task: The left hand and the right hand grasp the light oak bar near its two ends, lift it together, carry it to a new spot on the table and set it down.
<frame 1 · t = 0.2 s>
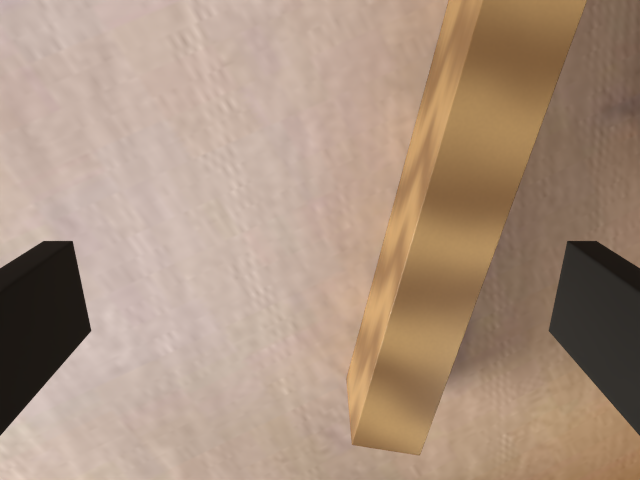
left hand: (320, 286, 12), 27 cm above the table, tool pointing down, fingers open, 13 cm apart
bar: (472, 57, 35), on the table
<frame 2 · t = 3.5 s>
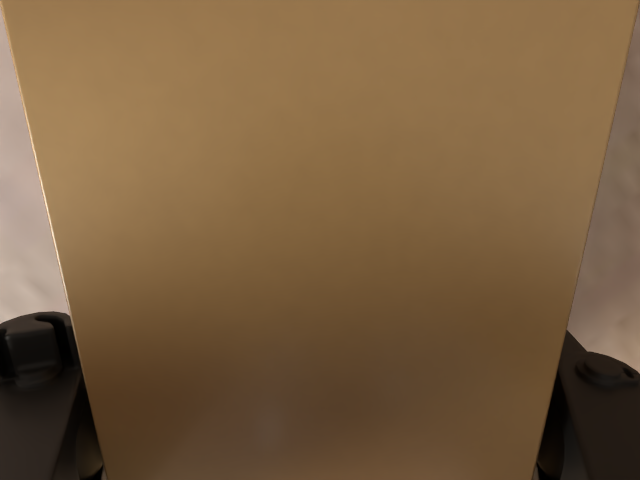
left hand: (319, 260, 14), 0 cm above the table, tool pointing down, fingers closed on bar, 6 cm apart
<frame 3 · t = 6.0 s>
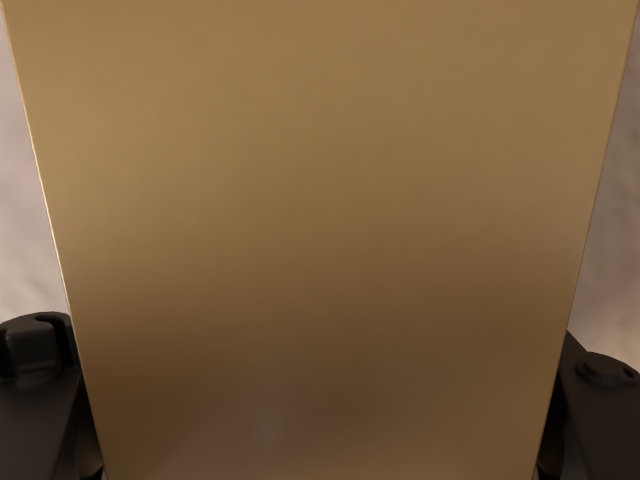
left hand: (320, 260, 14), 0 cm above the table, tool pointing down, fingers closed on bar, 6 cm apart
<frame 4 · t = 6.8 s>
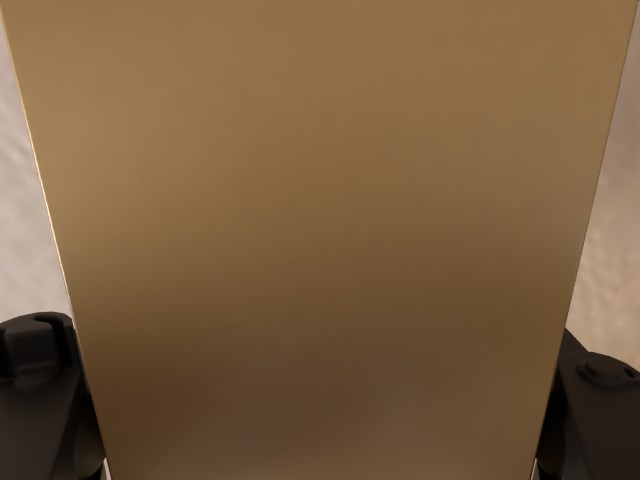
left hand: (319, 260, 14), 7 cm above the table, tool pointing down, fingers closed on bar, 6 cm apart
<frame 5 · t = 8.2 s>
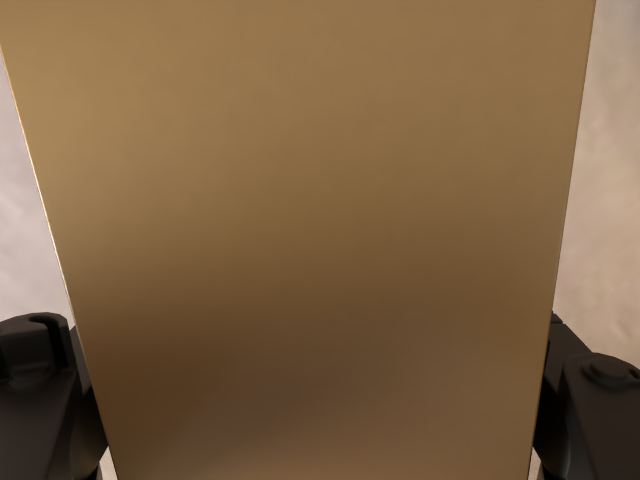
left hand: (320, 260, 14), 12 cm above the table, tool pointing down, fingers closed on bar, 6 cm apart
when the left hand's fingers open (2 cm above the table, at t = 10.5 s): bar stays where it is, on the table.
when the right hand's fingers open (1 cm above the table, at t = 10.5 s): bar stays where it is, on the table.
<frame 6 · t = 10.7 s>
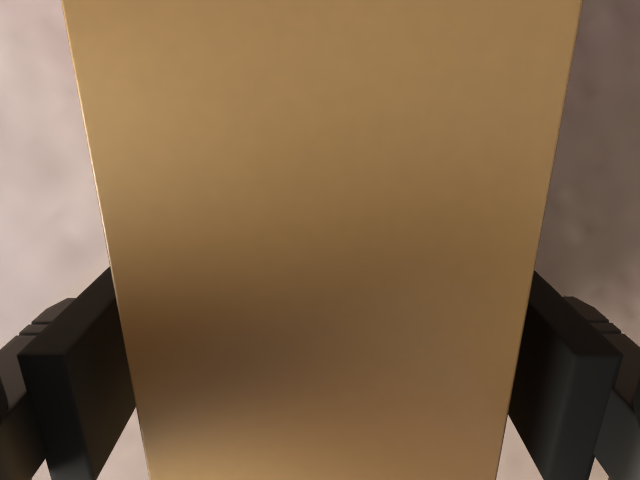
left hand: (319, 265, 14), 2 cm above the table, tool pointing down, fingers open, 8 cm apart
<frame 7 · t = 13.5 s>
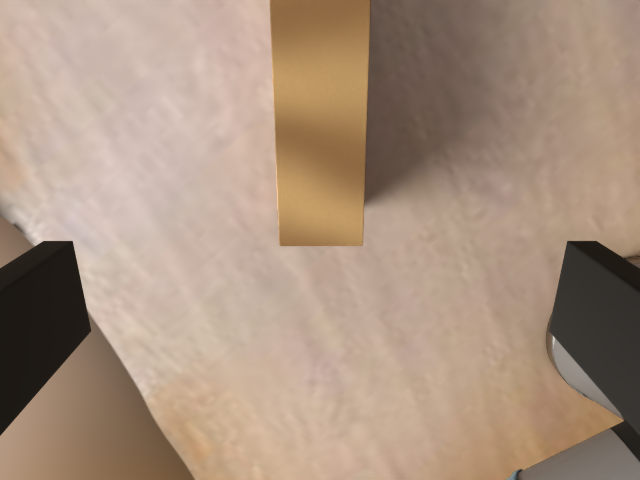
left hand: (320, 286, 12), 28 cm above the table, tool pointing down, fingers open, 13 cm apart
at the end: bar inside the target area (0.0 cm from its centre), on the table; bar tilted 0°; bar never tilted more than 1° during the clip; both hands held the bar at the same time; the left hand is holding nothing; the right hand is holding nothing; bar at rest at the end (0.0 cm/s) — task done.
